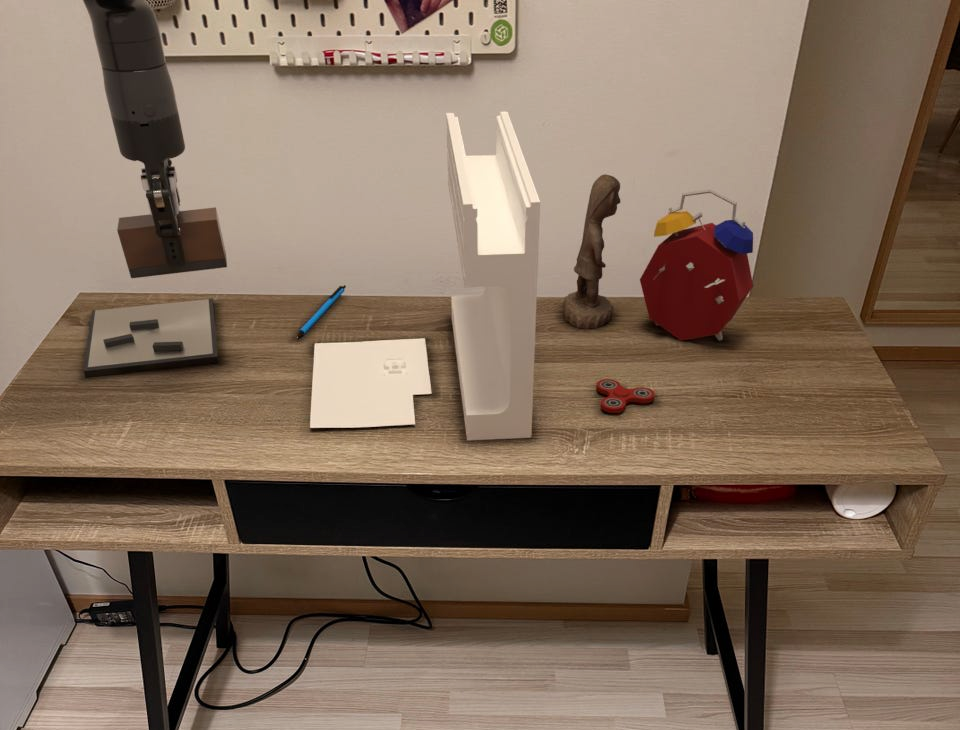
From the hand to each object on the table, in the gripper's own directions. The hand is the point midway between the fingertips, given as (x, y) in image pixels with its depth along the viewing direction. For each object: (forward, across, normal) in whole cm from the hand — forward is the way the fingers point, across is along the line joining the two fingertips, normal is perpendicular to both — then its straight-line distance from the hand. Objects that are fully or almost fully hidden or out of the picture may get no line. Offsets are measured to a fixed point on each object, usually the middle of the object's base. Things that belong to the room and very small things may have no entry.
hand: (177, 257), depth 120 cm
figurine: (+16, -4, +57) cm, 60 cm away
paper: (+15, +10, +23) cm, 29 cm away
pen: (+16, -14, +18) cm, 28 cm away
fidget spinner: (+16, +21, +54) cm, 60 cm away
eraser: (+1, 0, 0) cm, 1 cm away
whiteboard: (+15, -11, -7) cm, 20 cm away
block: (+16, +10, +39) cm, 43 cm away
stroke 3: (+14, -5, -4) cm, 15 cm away
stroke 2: (+14, -12, -8) cm, 20 cm away
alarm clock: (+16, +6, +70) cm, 71 cm away
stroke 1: (+14, -8, -11) cm, 20 cm away
